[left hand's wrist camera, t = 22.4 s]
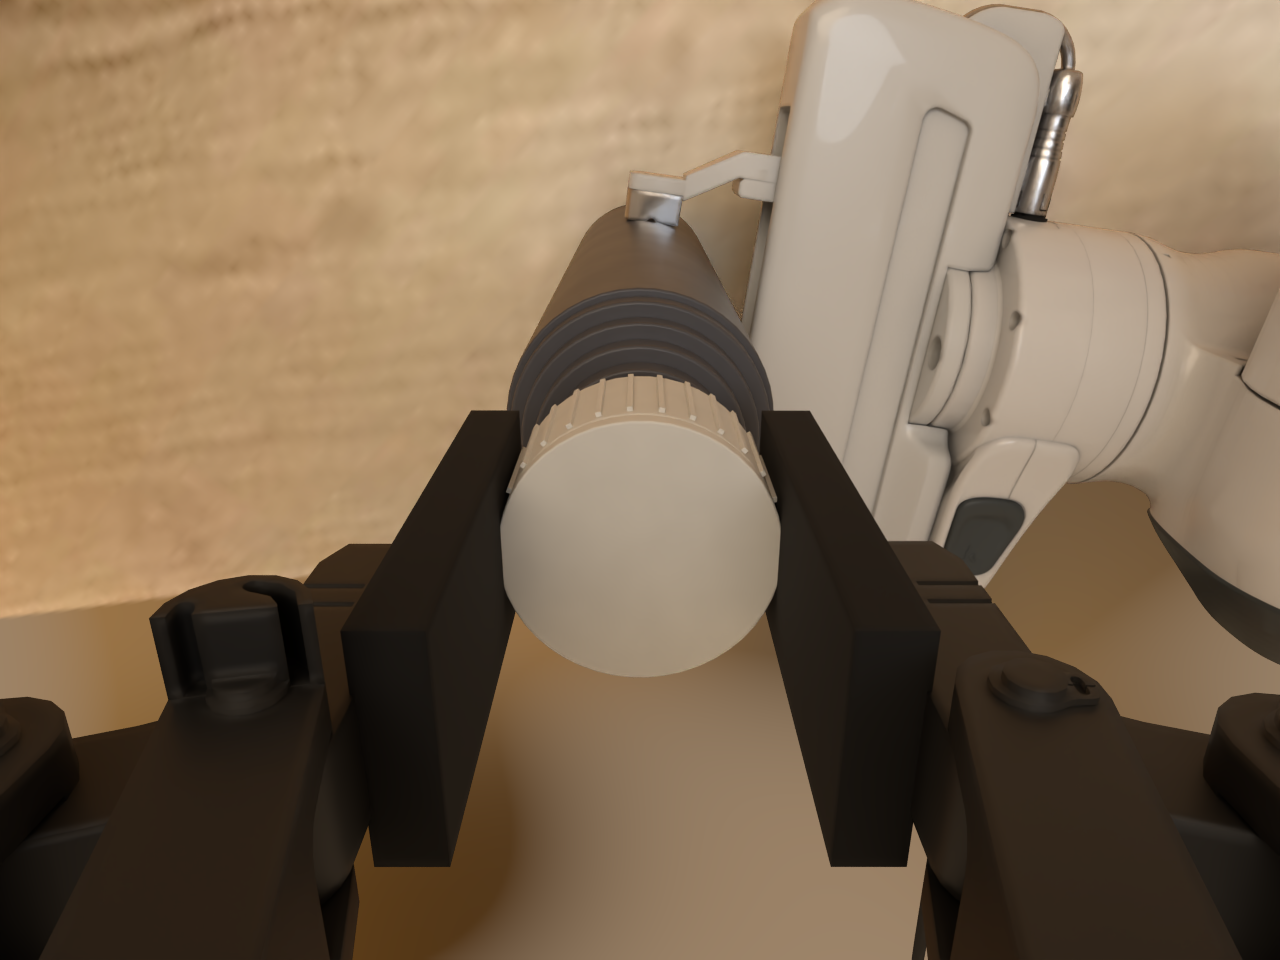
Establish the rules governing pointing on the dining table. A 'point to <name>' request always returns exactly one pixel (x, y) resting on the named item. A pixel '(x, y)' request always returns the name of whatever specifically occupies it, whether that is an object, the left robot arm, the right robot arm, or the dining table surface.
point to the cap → (640, 529)
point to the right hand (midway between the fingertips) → (614, 296)
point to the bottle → (640, 325)
